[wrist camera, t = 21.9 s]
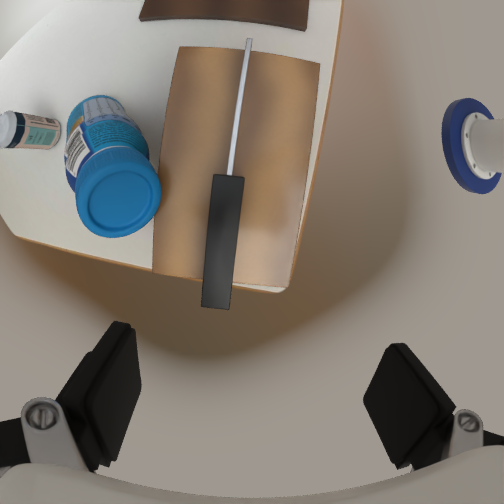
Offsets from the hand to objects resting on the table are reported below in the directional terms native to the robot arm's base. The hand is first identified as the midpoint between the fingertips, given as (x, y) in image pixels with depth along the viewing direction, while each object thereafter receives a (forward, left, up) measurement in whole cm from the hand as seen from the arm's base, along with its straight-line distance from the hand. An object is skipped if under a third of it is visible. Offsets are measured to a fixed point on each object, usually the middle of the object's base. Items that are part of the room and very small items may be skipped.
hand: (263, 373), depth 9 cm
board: (+7, -37, -29) cm, 48 cm away
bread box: (+2, -7, -29) cm, 30 cm away
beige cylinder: (+31, -11, -29) cm, 44 cm away
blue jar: (+21, -12, -26) cm, 35 cm away
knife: (+2, -7, -15) cm, 17 cm away
